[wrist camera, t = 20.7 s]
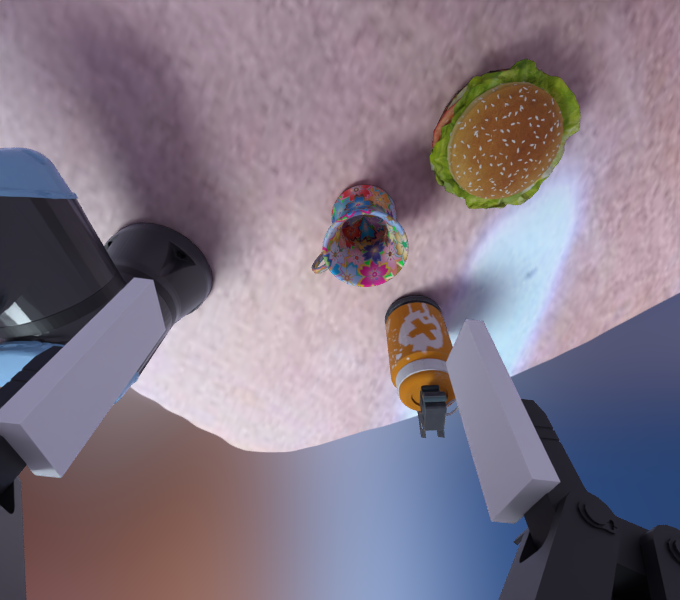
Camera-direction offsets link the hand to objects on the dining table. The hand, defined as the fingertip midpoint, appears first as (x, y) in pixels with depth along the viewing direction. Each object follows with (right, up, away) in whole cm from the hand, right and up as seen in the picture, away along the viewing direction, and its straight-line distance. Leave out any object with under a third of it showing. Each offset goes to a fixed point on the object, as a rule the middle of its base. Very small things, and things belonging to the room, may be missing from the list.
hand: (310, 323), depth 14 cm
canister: (+13, -2, +40) cm, 43 cm away
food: (+19, +20, +24) cm, 36 cm away
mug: (+3, +12, +31) cm, 33 cm away
